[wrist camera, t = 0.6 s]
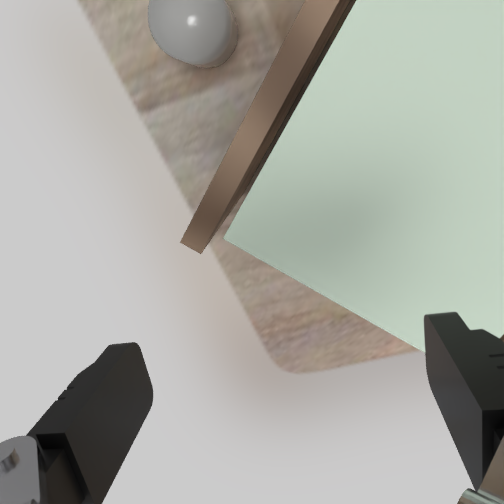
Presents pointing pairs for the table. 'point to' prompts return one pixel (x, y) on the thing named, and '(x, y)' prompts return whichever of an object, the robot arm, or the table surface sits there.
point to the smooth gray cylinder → (194, 30)
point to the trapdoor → (394, 170)
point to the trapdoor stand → (265, 117)
